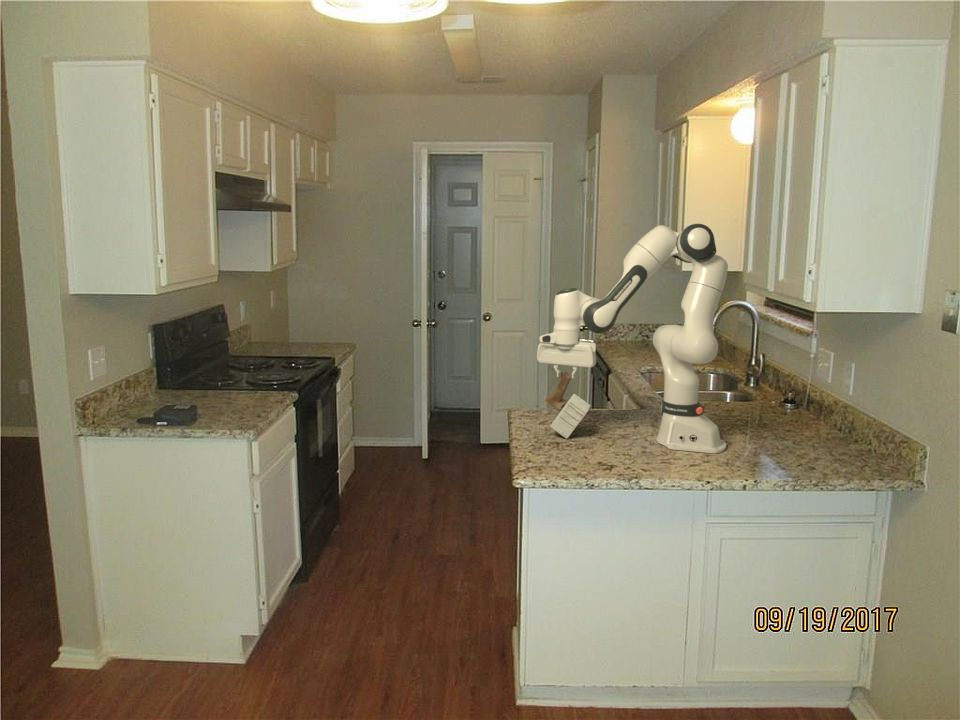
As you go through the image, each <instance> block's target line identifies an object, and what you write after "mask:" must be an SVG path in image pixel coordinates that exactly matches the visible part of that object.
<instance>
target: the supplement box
mask: <svg viewBox="0 0 960 720" xmlns="http://www.w3.org/2000/svg"><path fill="white" fill-rule="evenodd" d="M591 407H592V406H591V404H590V403H588V402H587V401H586V400H584V399H583V398H581V397H580V396H578V395H577V394H576V393H573V394H572V395H571V396H570V398H569V399H568V400H567V403H566V405H565V406H564V407H563V408H561V409H560V410H559V413H558V414H557V415H556V417H555V418H554V420H553V421H552V423H551V424H550V426H549V427H550V428H552V430H554V431H555V432H557V433H558V434H559V435H561V436H562V437H563V438H565V439H566V440H568V438H570V436H571V435H572V433H573V432H574V430H575V429H576V428H577V427H578V425H579V424H580V423H581V421H582V420H583V419H584V418H585V416H586V415H587V413H588V412H589V410H590V408H591Z"/></svg>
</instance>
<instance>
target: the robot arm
mask: <svg viewBox="0 0 960 720" xmlns="http://www.w3.org/2000/svg"><path fill="white" fill-rule="evenodd" d="M716 253H717V246H716V240H715V236H714V233H713V231H712V229H711V228H710V227H709V226H707V225H705V224H704V223H703V224H702V223H693V224H690V225H688V226H686V227H685V228H683V230H682V231H680V232H676V231H674V230H673V229H672V228H671V227H669V226H666V225H664V224H660V225H656V226H655V227H654V228H652V229H651V230H649V231H648V232H646V234H644V235H643V236H642V237H641V238H640V239H639V240H638V241H637V242H636V243H635V244H634V245H633V246H632V247H631V249H630V250H629V251H628V253H627V254H626V255H625V257H624V258H623V263H622V264H623V272H622V276H621V278H620V279H619V280H618V282H617V283H615V285H614V286H613V288H612V289H610V291H609V292H608V293H607V295H606V296H605V297H603V298H602V299H599V298H597V297H593V296H590V295H588V294H586V293H584V292H582V291H581V290H579V289H578V288H575V287H574V288H573V287H572V288H563V289H562V290H559V291H558V292H557V293H555V296H554V300H553V301H554V302H553V319H554V324H553V328H552V330H553V331H550V332H548V333H544V334H542V335H540V336H539V342H540V343H539V344H538V346H537V349H536V351H537V352H536V361H537V362H538V363H539V364H546V365H547V364H548V365H549V364H550V365H553V368H554V370H555V372H556V377H557V378H560V379H561V378H562V375H563V374H564V372H563V371H561V369H560V367H561V366H570V367H572V372H570V373H568V374H569V376H570V377H569V378H570V380H575V379H576V373H577V372H578V370H579V368H580V367H581V368H594V367H595V365H596V364H597V354H596V351H597V342H596V341H594V340H593V339H591V338H590V339H589V338H588V339H587V338H581V327H583V326H586V329H588V330H589V331H590V332H592V333H594V334H604V333H606V332H608V331H610V330H612V328H613V327H614V325H615V323H616V321H617V318H618V316H619V313H620V312H621V311H622V309H623V308H624V306H625V305H626V304H628V302H629V301H630V299H631V298H632V297H634V295H635V294H636V293H637V292H638V290H639V289H640V287H642V286H643V284H644V283H645V282H646V281H648V279H650V278H651V277H652V275H653V274H655V273H656V272H657V271H658V270H659V269H660V267H661V266H663V264H664V263H665V262H667V260H668V259H670V257H673V258H675V259H677V260H679V261H681V262H683V263H686V264H691V265H692V271H691V276H690V278H689V281H688V283H687V286H686V288H685V290H684V293H683V296H682V300H681V302H680V307H681V309H682V311H683V315H684V322H683V325H679V324H674V323H673V324H664V325H663V324H662V325H660V326H659V327H658V328H657V329H656V330H655V331H654V333H653V336H652V345H653V347H654V349H655V351H656V352H657V353H658V356H659V358H660V361H661V365H662V366H661V367H662V372H663V378H664V379H663V380H664V382H663V384H664V386H663V389H664V390H663V399H662V401H661V408H660V409H661V410H660V414H661V415H660V416H661V421H660V427H659V430H658V432H657V433H658V434H657V437H656V438H655V439H656V442H657V443H659V444H660V445H662V446H665V447H666V448H668V450H675V451H676V450H677V451H685V452H696V453H704V454H705V453H706V454H719V453H722V452H724V451H725V450H726V449H727V442H726V441H725V440H724V439H721V435H720V430H719V427H718V425H717V424H715V423H714V422H713V421H712V420H711V419H710V418H708V417H707V416H706V415H705V414H704V413H705V412H704V411H705V404H704V403H703V404H702V403H701V402H699V393H700V392H699V389H700V379H699V376H698V375H697V373H696V372H695V369H694V368H693V364H694V365H697V364H698V365H701V364H702V365H705V364H710V363H711V362H712V361H713V360H715V358H716V356H717V355H718V352H719V343H718V340H717V338H716V336H715V332H714V320H715V319H714V318H715V315H716V314H715V313H716V311H717V308H718V305H719V302H720V299H721V296H722V293H723V290H724V288H725V284H726V281H727V276H728V270H729V269H728V268H729V265H728V262H727V260H726V259H725V258H724V257H722V256H720V255H718V254H716Z"/></svg>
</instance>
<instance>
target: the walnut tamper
mask: <svg viewBox="0 0 960 720" xmlns="http://www.w3.org/2000/svg"><path fill="white" fill-rule="evenodd" d="M569 374H570V373H568V372H567V371H565V372H563V374H562V378H560V380H559V383H558V385H557V387H556V390H555V391H554V393H553V392H552V393H551V394H549V395H548V396H546V397H545V400H544V402H545V403H546V404H547V405H550V406H552V407H554V409H557V410H559V411H561V410H562V409H563V407H564V406H565V405H566V403H567V402H568V400H566V399H564V395H565V393H566V390H567V388H568V386H569V383H570V381H571V379H570V378H569V377H570V376H569Z"/></svg>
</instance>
